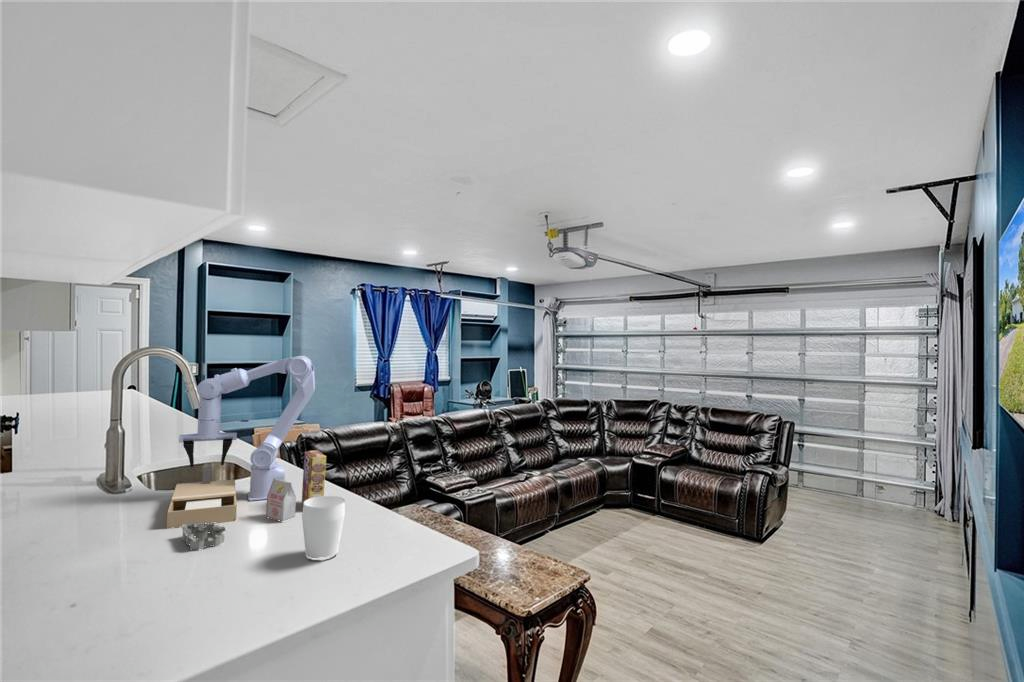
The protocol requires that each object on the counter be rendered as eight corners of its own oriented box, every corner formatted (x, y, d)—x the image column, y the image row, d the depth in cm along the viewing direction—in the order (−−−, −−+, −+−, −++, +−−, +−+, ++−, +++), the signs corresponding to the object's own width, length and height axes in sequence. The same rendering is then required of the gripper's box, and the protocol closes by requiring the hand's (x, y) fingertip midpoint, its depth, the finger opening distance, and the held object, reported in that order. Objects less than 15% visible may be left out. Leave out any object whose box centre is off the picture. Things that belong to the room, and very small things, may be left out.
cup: (324, 567, 108) (326, 510, 108) (290, 559, 111) (293, 504, 111) (351, 551, 116) (354, 499, 116) (319, 544, 119) (322, 493, 120)
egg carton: (226, 546, 117) (227, 528, 117) (188, 554, 112) (189, 535, 112) (215, 532, 125) (216, 515, 125) (179, 538, 120) (180, 521, 120)
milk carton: (278, 513, 139) (280, 477, 139) (294, 518, 136) (296, 481, 136) (266, 517, 136) (267, 480, 136) (282, 522, 133) (284, 484, 133)
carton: (235, 503, 147) (235, 489, 147) (235, 520, 133) (236, 505, 133) (172, 509, 139) (173, 494, 139) (166, 528, 125) (167, 512, 125)
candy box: (324, 509, 144) (326, 455, 144) (308, 512, 142) (311, 457, 142) (316, 501, 151) (318, 449, 152) (301, 503, 149) (303, 451, 149)
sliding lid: (234, 481, 154) (235, 466, 154) (235, 495, 140) (236, 479, 140) (176, 485, 147) (177, 470, 147) (171, 501, 133) (172, 484, 133)
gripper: (237, 416, 157) (235, 460, 157) (181, 418, 150) (179, 464, 150) (237, 419, 151) (235, 465, 150) (179, 421, 144) (177, 469, 143)
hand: (207, 465), depth 150 cm, fingers open, 7 cm apart
